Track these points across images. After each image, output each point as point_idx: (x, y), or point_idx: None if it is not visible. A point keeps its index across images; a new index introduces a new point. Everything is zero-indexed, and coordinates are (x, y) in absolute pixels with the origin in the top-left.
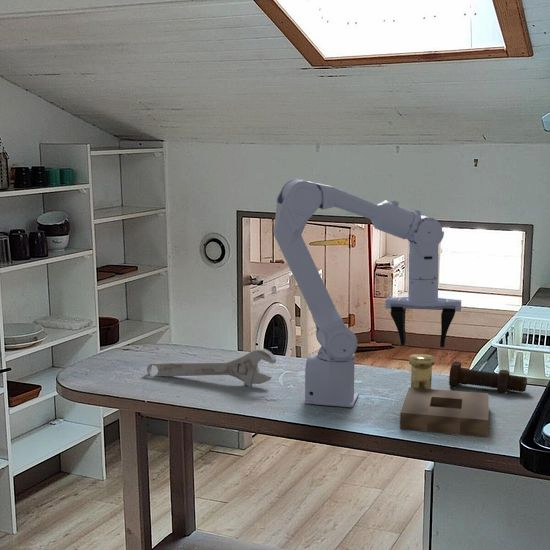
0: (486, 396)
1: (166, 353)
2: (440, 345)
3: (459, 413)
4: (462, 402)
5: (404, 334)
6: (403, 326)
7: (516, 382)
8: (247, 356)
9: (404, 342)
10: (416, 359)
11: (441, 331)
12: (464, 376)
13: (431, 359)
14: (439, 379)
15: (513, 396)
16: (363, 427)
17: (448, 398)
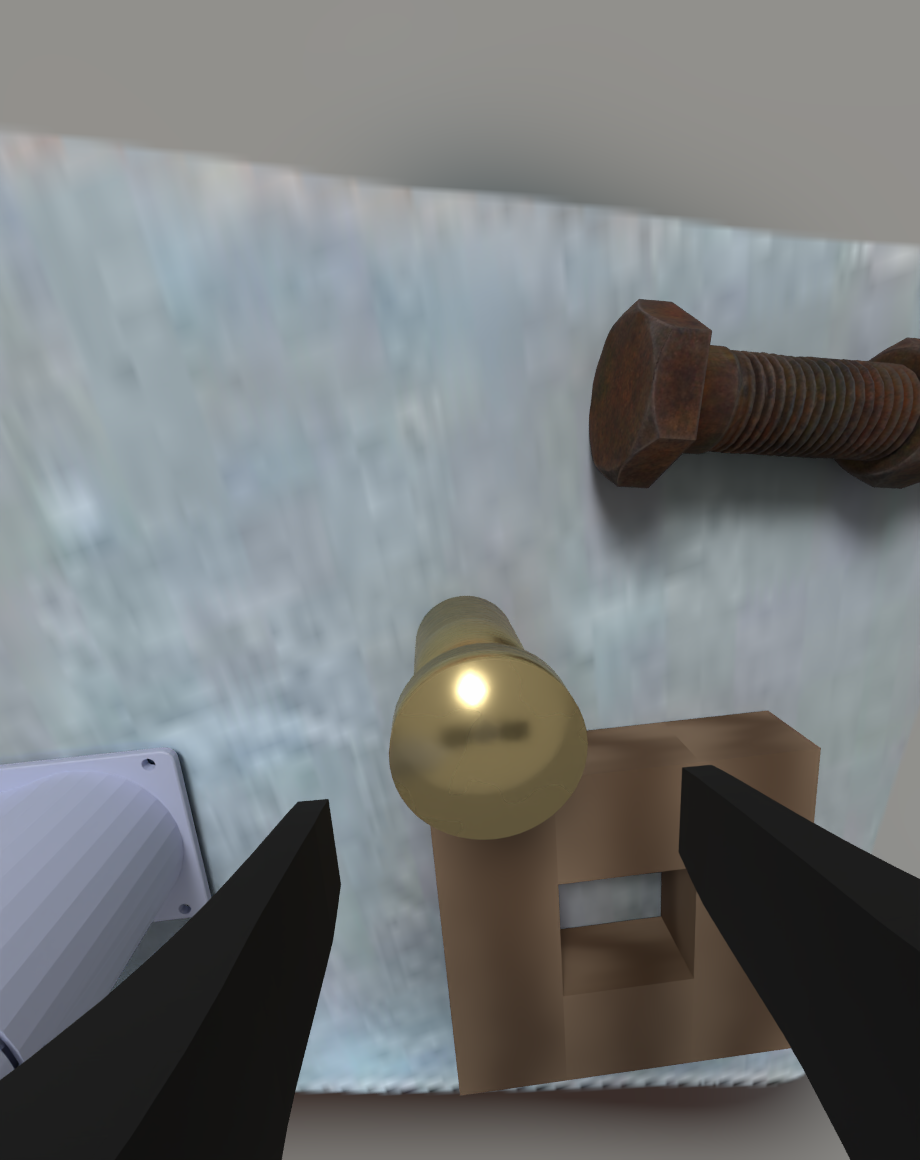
0: (807, 794)
1: None
2: (688, 869)
3: (687, 1025)
4: (698, 907)
5: (305, 934)
6: (270, 1120)
7: None
8: None
9: (333, 891)
10: (459, 822)
11: (799, 1060)
12: (700, 450)
13: (567, 787)
14: (519, 308)
15: (896, 496)
16: (328, 1050)
17: (634, 872)
